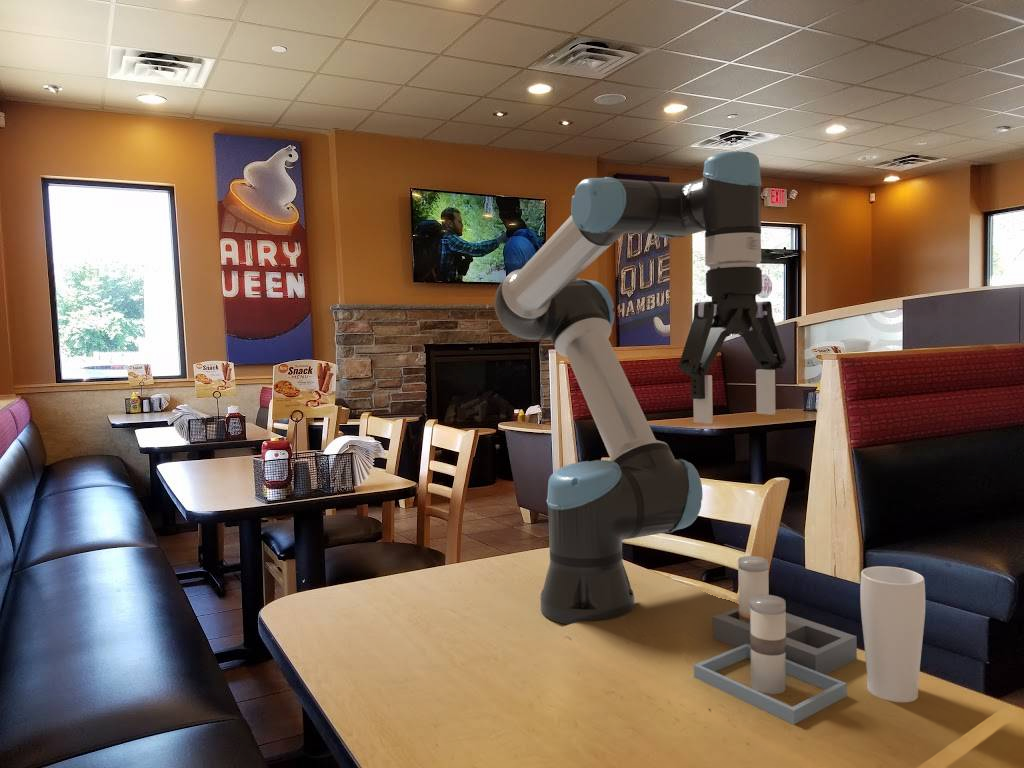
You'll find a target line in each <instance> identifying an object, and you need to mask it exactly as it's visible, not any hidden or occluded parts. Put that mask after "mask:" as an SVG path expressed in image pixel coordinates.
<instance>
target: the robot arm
mask: <svg viewBox="0 0 1024 768" xmlns="http://www.w3.org/2000/svg"><path fill="white" fill-rule="evenodd" d="M760 165H761V164H760V159H759V157H758V156H757V154H755V153H753V152H749V151H742V150H741V151H739V150H738V151H737V150H736V151H726V152H721V153H716V154H713V155H710V156H709V157H708V158H707V159H706V160H705V161H704V164H703V172H702V176H703V177H700V178H698V179H695V180H692V181H689V182H684V183H683V182H678V183H677V182H665V181H650V180H649V181H645V180H637V179H635V180H634V179H625V178H624V179H623V178H614V177H610V176H605V177H588V178H585V179H582V180H581V181H580V182H579V183H578V184H577V186H576V187H575V189H574V191H575V192H574V194H573V195H572V197H571V204H570V212H571V215H569V217H568V218H567V219H566V220H565V222H563V224H562V225H560V227H559V228H558V229H557V230H556V231H555V232H554V233H553V234H552V235H551V236H550V238H548V240H547V241H546V242H545V243H544V244H543V245H542V246H541V247H540V248H539V249H538V250H537V251H536V253H534V255H533V256H531V258H530V259H529V260H528V261H527V262H526V263H525V265H523V266H522V268H521V269H520V268H518V269H515V270H513V271H511V272H509V273H508V275H507V276H506V277H505V278H504V279H503V280H502V281H501V283H500V284H499V285H498V288H497V289H496V292H495V295H494V303H493V305H494V310H495V311H494V312H495V314H496V318H497V320H498V321H499V323H500V324H501V326H502V327H503V328H504V329H505V330H506V331H507V332H509V333H510V334H512V335H513V336H515V337H518V338H521V339H525V340H534V341H535V340H537V341H538V340H550V341H551V342H552V345H553V347H554V350H555V351H556V353H557V354H558V355H559V356H561V357H565V358H566V359H567V360H568V362H569V364H570V367H571V369H572V372H573V374H574V376H575V379H576V381H577V383H578V386H579V388H580V391H581V392H582V395H583V397H584V400H585V402H586V405H587V407H588V410H589V412H590V413H591V417H592V418H593V420H594V423H595V426H596V429H598V432H599V435H600V437H601V439H602V442H603V443H604V447H605V449H606V452H607V454H608V456H609V458H610V460H608V459H607V460H605V459H595V460H591V461H589V460H585V461H579V462H575V463H570V464H566V465H564V466H562V467H559V468H558V469H556V470H555V471H554V472H552V474H551V475H550V476H549V479H548V482H547V484H548V485H547V498H546V504H547V513H548V514H547V518H548V536H549V537H548V542H549V565H548V569H547V572H546V577H545V579H544V585H543V589H542V590H541V593H540V597H539V598H540V612H541V613H542V615H543V616H545V617H546V618H548V620H551V621H553V622H556V623H560V624H563V625H573V624H575V623H579V622H600V621H601V622H603V621H608V620H615V619H618V618H620V617H623V616H626V615H627V614H629V613H630V612H632V611H633V610H634V608H635V593H634V592H633V590H632V586H631V582H630V580H629V576H628V573H627V571H626V568H625V566H624V562H623V540H624V541H625V540H630V539H635V538H642V537H646V536H647V537H648V536H652V535H658V534H670V533H673V532H674V531H677V530H678V531H679V530H682V529H685V528H687V527H690V526H691V525H692V524H693V523H694V522H695V521H696V520H697V518H698V517H699V514H700V512H701V509H702V501H703V497H704V496H703V486H702V480H701V477H700V475H699V472H698V470H697V468H696V467H695V466H694V464H692V463H691V462H688V461H687V460H685V459H683V458H678V459H675V455H673V452H672V450H671V448H670V446H669V445H668V443H666V442H665V441H661V440H659V439H658V440H657V439H656V437H655V435H654V433H653V430H652V429H651V426H650V425H649V422H648V421H647V418H646V416H645V414H644V412H643V410H642V408H641V405H640V403H639V401H638V399H637V397H636V394H635V392H634V390H633V388H632V387H631V383H630V382H629V380H628V378H627V375H626V373H625V371H624V369H623V367H622V365H621V363H620V361H619V359H618V356H617V354H616V352H615V350H614V349H613V346H612V344H611V342H610V340H609V338H610V336H611V335H612V330H613V329H612V328H613V325H614V322H615V315H616V314H615V312H614V310H613V309H614V308H615V305H614V301H613V298H612V296H611V294H610V293H609V292H610V291H608V289H607V288H606V287H605V286H604V285H603V284H602V283H601V282H598V281H596V280H590V279H584V278H577V276H579V275H580V274H581V273H582V272H583V271H584V270H586V268H588V267H589V266H590V265H591V264H592V263H593V262H594V261H596V259H597V258H599V257H600V256H601V255H602V254H603V253H604V252H605V251H606V250H607V249H608V248H609V247H611V246H612V245H613V244H614V243H615V242H616V241H618V240H619V239H620V238H621V237H622V236H623V235H625V234H646V235H649V234H650V235H653V234H654V235H657V236H658V237H660V238H664V239H673V238H677V239H680V238H684V237H685V236H689V235H692V234H697V233H702V232H704V249H705V250H704V256H705V257H704V258H705V259H704V264H705V266H706V267H709V269H708V270H707V271H706V273H705V294H706V295H707V296H708V297H711V301H699V302H698V301H697V302H695V303H694V306H693V307H694V308H693V309H694V310H693V320H692V322H691V326H690V327H689V332H688V335H687V338H686V341H685V344H684V348H683V350H682V353H681V357H680V360H679V362H678V370H680V371H681V372H683V374H684V375H686V376H690V396H691V399H692V400H693V402H692V403H693V423H698V424H709V425H710V424H714V422H713V421H714V419H713V418H714V417H713V416H714V415H713V414H714V413H713V411H714V409H713V408H714V407H713V375H711V374H708V372H709V371H710V368H711V367H712V364H713V363H714V361H715V359H716V357H717V356H718V353H719V351H720V350H721V347H722V346H723V344H724V342H725V340H726V338H728V337H729V336H731V335H738V336H741V337H742V338H743V339H744V341H745V344H746V345H747V346H748V348H749V350H750V353H752V355H753V357H754V359H755V360H756V362H757V364H758V365H759V368H760V369H759V368H758V369H756V370H755V381H756V383H755V387H756V388H755V389H756V392H755V394H756V397H755V398H756V401H755V402H756V414H760V415H770V416H772V415H773V416H774V415H776V390H777V370H782V369H783V368H784V365H785V364H786V363H787V356H786V354H785V351H784V347H783V344H782V342H781V338H780V336H779V332H778V328H777V326H776V323H775V320H774V317H773V307H772V302H771V301H768V300H767V301H757V299H756V298H757V295H759V294H761V293H762V292H763V269H761V267H759V266H758V265H759V264H760V263H761V262H762V239H761V238H762V235H761V234H762V184H763V182H762V179H761V166H760Z"/></svg>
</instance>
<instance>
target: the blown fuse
mask: <svg viewBox="0 0 1024 768" xmlns="http://www.w3.org/2000/svg"><path fill="white" fill-rule="evenodd" d="M786 603H787V602H786V600H785V599H784V598H783V597H780V596H777V595H772V594H769V595H755V596H752V597H751V598H750V621H751V631H750V648H751V659H750V686H751V687H750V688H752V689H754V690H756V691H758V692H760V693H763V694H765V695H780V694H783V693H784V692H786V689H787V688H786V687H787V684H786V682H787V680H786V679H787V678H786V676H787V674H786V613H787V612H786V607H787V606H786Z"/></svg>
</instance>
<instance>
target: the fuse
mask: <svg viewBox="0 0 1024 768" xmlns="http://www.w3.org/2000/svg"><path fill="white" fill-rule="evenodd" d="M737 566H738V567H737V568H738V569H737V570H738V575H737V576H738V578H737V579H738V580H737V581H738V607H739V620H741V621H744V622H746V623H749V624H751V621H750V598H751V597H752V596H755V595H770V594H769V588H770V586H769V584H770V583H769V581H770V580H769V560H768V559H767V558H765V557H761V556H757V555H756V556H755V555H747V556H746V555H745V556H740V557H739V558H738V559H737Z"/></svg>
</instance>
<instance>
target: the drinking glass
mask: <svg viewBox="0 0 1024 768" xmlns="http://www.w3.org/2000/svg"><path fill="white" fill-rule="evenodd" d="M859 588H860V589H859V591H860V592H859V593H860V614H861V615H860V617H861V625H862V635H863V636H862V637H863V643H864V645H863V646H864V656H865V657H864V658H865V665H866V677H867V679H866V681H867V683H866V687H867V690H868V692H870V693H871V695H873V696H875V697H877V698H880V699H882V700H885V701H888V702H894V703H910V702H914V701H916V700H917V699H918V698H919V682H920V679H919V678H920V669H921V661H922V660H921V659H922V651H923V639H924V638H923V637H924V632H925V631H924V630H925V619H926V583H925V577H924V576H923V575H922V574H920V573H918V572H916V571H914V570H911V569H906V568H902V567H896V566H887V565H886V566H879V565H878V566H870V567H869V566H868V567H866V568H864V569H862V570H861V572H860V587H859Z"/></svg>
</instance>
